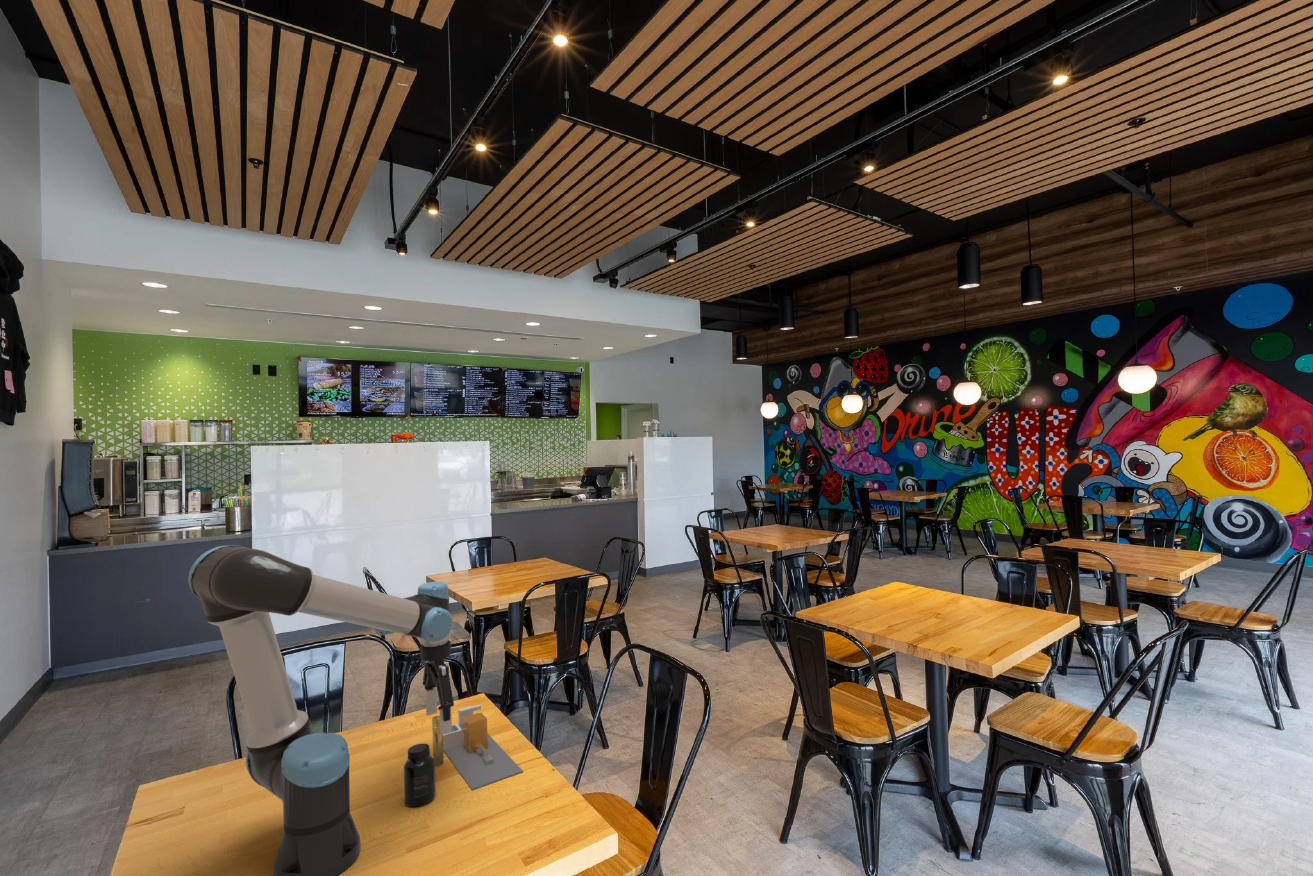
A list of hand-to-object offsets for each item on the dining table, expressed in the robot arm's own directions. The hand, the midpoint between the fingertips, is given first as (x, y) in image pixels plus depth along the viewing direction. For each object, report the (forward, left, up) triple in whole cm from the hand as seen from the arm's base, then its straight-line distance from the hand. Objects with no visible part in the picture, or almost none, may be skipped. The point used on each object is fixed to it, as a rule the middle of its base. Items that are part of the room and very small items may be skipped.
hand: (438, 722), depth 158 cm
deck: (-3, -9, -11) cm, 14 cm away
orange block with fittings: (-3, -10, -10) cm, 15 cm away
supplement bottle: (-14, +8, -11) cm, 20 cm away
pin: (0, 0, -11) cm, 11 cm away
